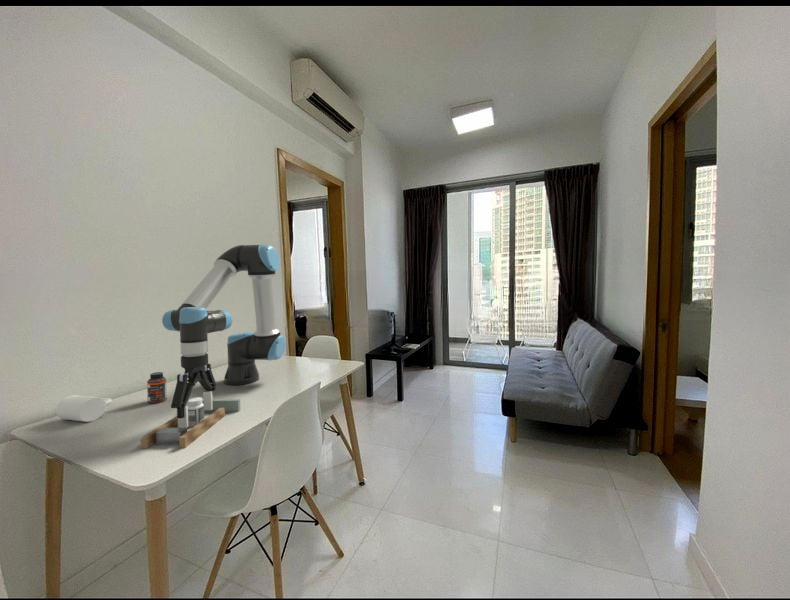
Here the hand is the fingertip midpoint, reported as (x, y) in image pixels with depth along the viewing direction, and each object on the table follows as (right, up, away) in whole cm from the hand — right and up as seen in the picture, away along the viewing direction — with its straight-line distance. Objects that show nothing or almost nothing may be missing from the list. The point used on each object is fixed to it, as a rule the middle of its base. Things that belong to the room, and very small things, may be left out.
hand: (196, 417), depth 100 cm
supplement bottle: (-29, -1, +20) cm, 35 cm away
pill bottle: (0, -2, 0) cm, 2 cm away
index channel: (0, -2, -4) cm, 5 cm away
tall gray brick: (0, -3, -11) cm, 12 cm away
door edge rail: (0, -2, +11) cm, 11 cm away
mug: (-41, -2, +5) cm, 42 cm away
